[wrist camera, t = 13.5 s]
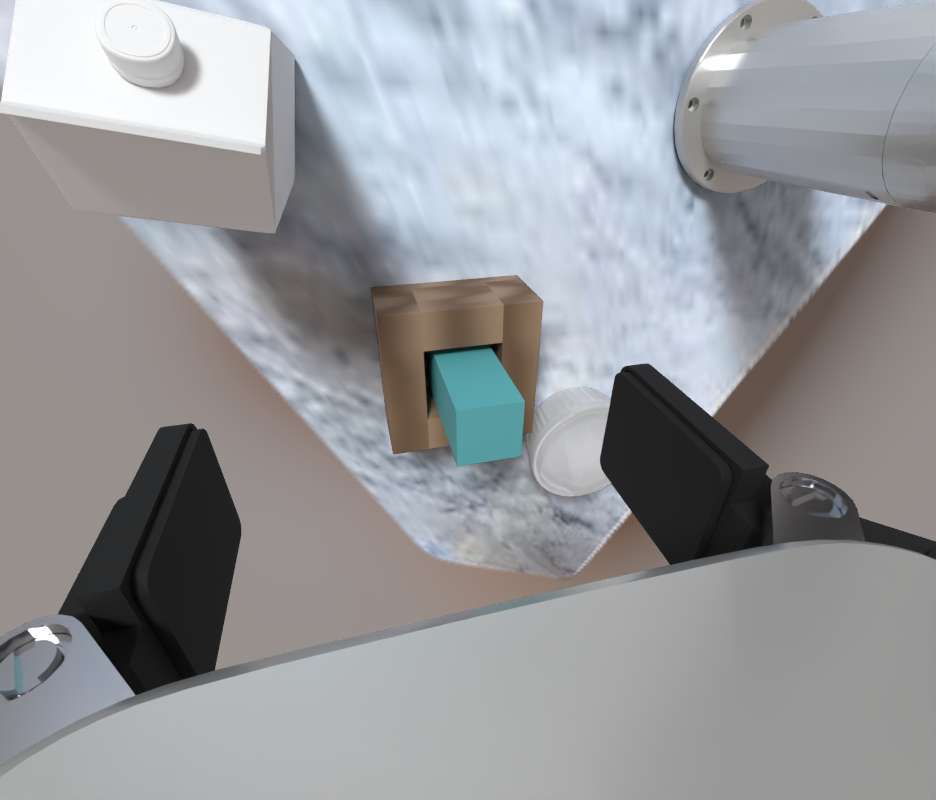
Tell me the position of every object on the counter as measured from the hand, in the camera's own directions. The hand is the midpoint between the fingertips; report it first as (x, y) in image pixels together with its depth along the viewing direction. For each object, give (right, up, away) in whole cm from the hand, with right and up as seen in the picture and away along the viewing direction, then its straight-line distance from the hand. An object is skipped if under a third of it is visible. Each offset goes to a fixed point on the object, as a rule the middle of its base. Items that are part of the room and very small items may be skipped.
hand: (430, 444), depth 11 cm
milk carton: (-14, +19, +19) cm, 30 cm away
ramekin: (+11, -1, +39) cm, 41 cm away
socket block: (-1, +6, +31) cm, 31 cm away
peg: (0, +5, +30) cm, 30 cm away
